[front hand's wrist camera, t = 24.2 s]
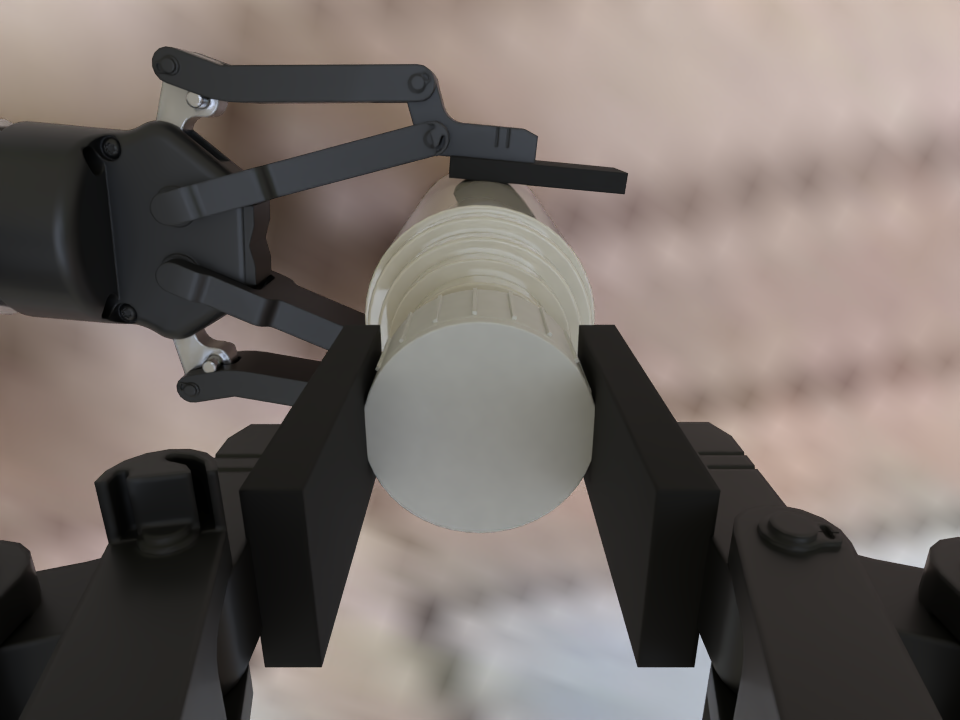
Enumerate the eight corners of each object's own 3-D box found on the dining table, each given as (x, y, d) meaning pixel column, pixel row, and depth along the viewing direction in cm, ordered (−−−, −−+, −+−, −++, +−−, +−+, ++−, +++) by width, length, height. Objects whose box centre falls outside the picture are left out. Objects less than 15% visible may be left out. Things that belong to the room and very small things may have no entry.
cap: (480, 510, 15) (480, 575, 13) (334, 386, 14) (308, 435, 12) (623, 385, 14) (649, 434, 12) (478, 241, 13) (478, 266, 11)
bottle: (410, 293, 33) (314, 541, 14) (416, 160, 31) (311, 234, 12) (537, 303, 34) (618, 562, 14) (553, 171, 31) (674, 263, 12)
